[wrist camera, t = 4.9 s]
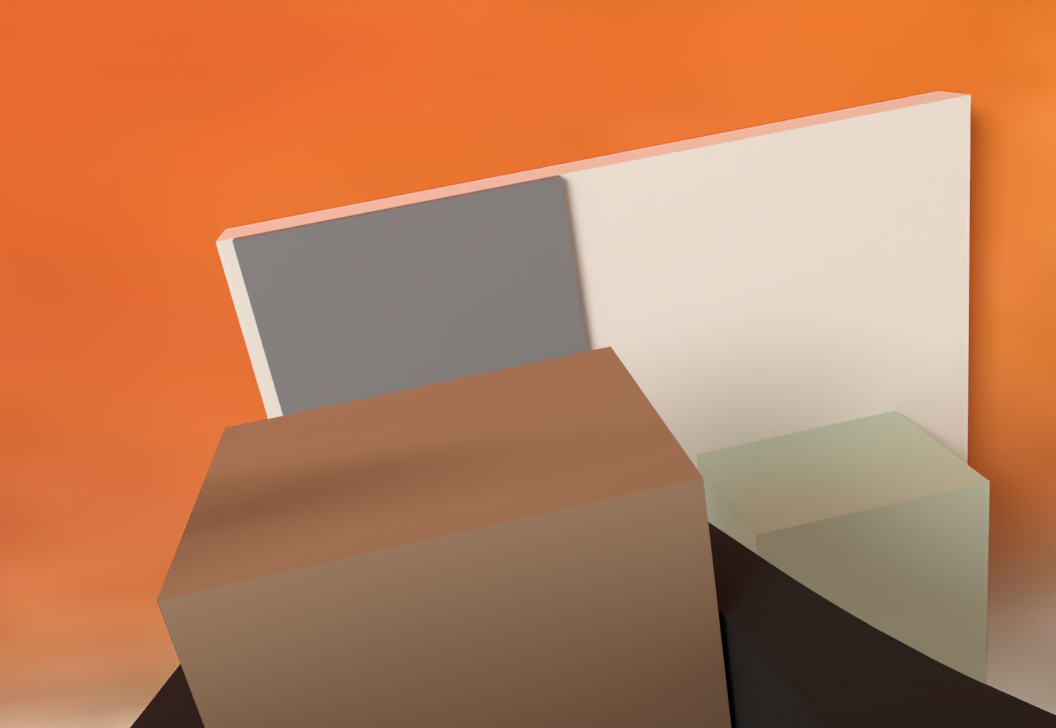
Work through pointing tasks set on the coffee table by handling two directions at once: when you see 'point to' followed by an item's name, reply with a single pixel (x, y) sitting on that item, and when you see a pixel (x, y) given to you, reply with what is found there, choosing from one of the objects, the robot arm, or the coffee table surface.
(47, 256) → the coffee table surface
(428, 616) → the walnut brick
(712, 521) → the sage brick
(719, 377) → the board
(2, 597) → the coffee table surface
